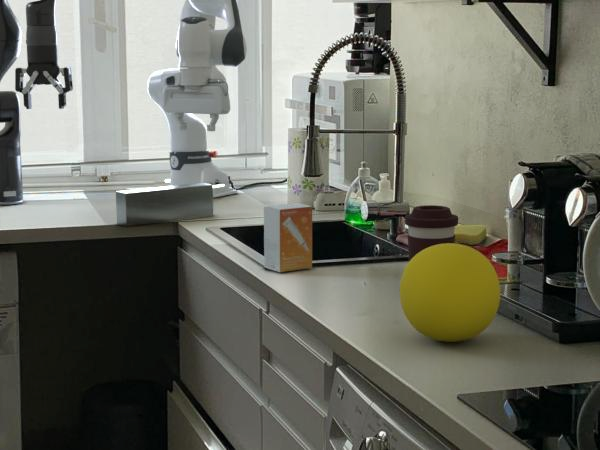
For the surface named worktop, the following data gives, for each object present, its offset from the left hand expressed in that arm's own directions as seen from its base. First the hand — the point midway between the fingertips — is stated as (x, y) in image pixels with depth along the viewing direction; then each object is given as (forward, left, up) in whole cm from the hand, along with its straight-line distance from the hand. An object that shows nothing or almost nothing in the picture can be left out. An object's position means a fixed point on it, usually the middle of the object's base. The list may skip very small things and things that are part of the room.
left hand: (45, 108), depth 266 cm
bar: (+12, +27, -30) cm, 43 cm away
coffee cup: (+114, +22, -30) cm, 120 cm away
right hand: (+12, +38, -7) cm, 40 cm away
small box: (+83, +12, -30) cm, 89 cm away
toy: (+141, -3, -30) cm, 144 cm away
